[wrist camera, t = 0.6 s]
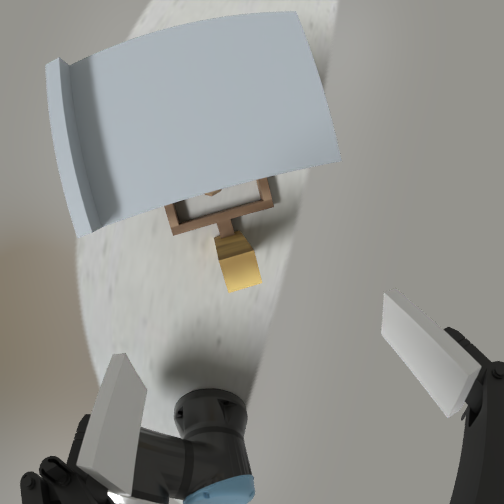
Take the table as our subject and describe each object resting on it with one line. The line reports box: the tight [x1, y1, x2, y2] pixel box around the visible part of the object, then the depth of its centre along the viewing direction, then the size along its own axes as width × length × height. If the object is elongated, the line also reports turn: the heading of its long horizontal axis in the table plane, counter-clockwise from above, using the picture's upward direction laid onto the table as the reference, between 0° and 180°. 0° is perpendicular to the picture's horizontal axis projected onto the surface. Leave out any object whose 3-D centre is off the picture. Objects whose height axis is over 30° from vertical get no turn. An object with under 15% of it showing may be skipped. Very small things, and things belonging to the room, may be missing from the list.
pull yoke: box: [164, 177, 274, 293], centre depth 34 cm, size 26×15×12 cm, turn 15°
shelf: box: [46, 11, 341, 238], centre depth 26 cm, size 12×19×26 cm, turn 105°
